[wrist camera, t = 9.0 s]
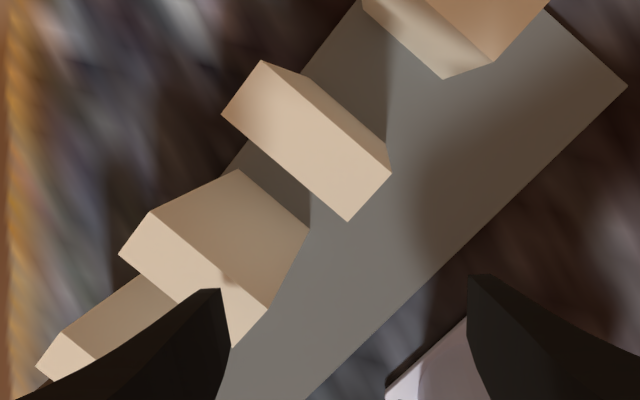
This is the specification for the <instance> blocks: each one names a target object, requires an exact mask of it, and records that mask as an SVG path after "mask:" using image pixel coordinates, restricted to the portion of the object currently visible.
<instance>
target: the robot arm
mask: <svg viewBox="0 0 640 400" xmlns="http://www.w3.org/2000/svg"><path fill="white" fill-rule="evenodd" d="M230 349H231V340H230V335H229V330H228V325H227V319H226V314H225V309H224V304H223V298H222V293H221V288H205V289H199V290H198V291H196V292H195V293H193V294H192V295H190V296H189V297H187V298H186V299H185V300H183V301H182V302H181V303H179V304H178V305H177V306H175V307H174V308H173V309H171V310H170V311H169V312H167V313H166V314H165V315H163V316H162V317H161V318H159V319H158V320H156V321H155V322H154V323H152V324H151V325H150V326H148V327H147V328H145V329H144V330H142V331H141V332H139V333H138V334H136V335H135V336H134V337H132V338H131V339H129V340H128V341H126V342H125V343H123V344H122V345H120V346H119V347H117V348H116V349H114V350H112V351H111V352H109V353H107V354H106V355H104V356H102V357H101V358H99V359H97V360H95V361H94V362H92V363H90V364H88V365H87V366H85V367H83V368H81V369H79V370H77V371H75V372H73V373H71V374H69V375H67V376H65V377H63V378H61V379H59V380H57V381H55V382H53V383H51V384H49V385H47V386H45V387H43V388H41V389H39V390H36V391H34V392H32V393H29V394H27V395H25V396H23V397H20V398H18V399H16V400H215V399H216V396H217V393H218V391H219V388H220V386H221V383H222V380H223V377H224V374H225V370H226V366H227V362H228V358H229V353H230ZM384 396H385V400H398V399H401V400H640V357H639V356H637V355H634V354H632V353H630V352H627V351H625V350H623V349H620V348H618V347H616V346H614V345H612V344H610V343H608V342H606V341H603V340H601V339H599V338H597V337H595V336H593V335H591V334H589V333H587V332H585V331H583V330H581V329H579V328H578V327H576V326H574V325H572V324H570V323H569V322H567V321H565V320H563V319H561V318H560V317H558V316H556V315H555V314H553V313H551V312H550V311H548V310H546V309H545V308H543V307H541V306H540V305H538V304H537V303H535V302H533V301H532V300H530V299H529V298H527V297H526V296H524V295H523V294H521V293H519V292H518V291H516V290H515V289H513V288H512V287H510V286H509V285H507V284H506V283H504V282H503V281H501V280H500V279H498V278H496V277H495V276H493V275H491V274H480V275H468V290H467V316H466V317H465V318H464V319H463V320H462V321H460V322H459V323H458V324H457V325H456V326H455V327H454V328H453V329H452V330H451V331H449V332H448V333H447V334H446V335H445V336H444V337H443V338H442V339H441V340H439V341H438V342H437V343H436V344H435V345H434V346H433V347H432V348H431V349H430V350H428V351H427V352H426V353H425V354H424V355H423V356H422V357H421V358H420V359H419V360H417V361H416V362H415V363H414V364H413V365H412V366H411V367H410V368H409V369H408V370H406V371H405V372H404V373H403V374H402V375H401V376H400V377H399V378H398V379H396V380H395V381H394V382H393V383H392V384H391V385H390V386H389V387H388V388H387V389H386V390H385V393H384Z"/></svg>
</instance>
